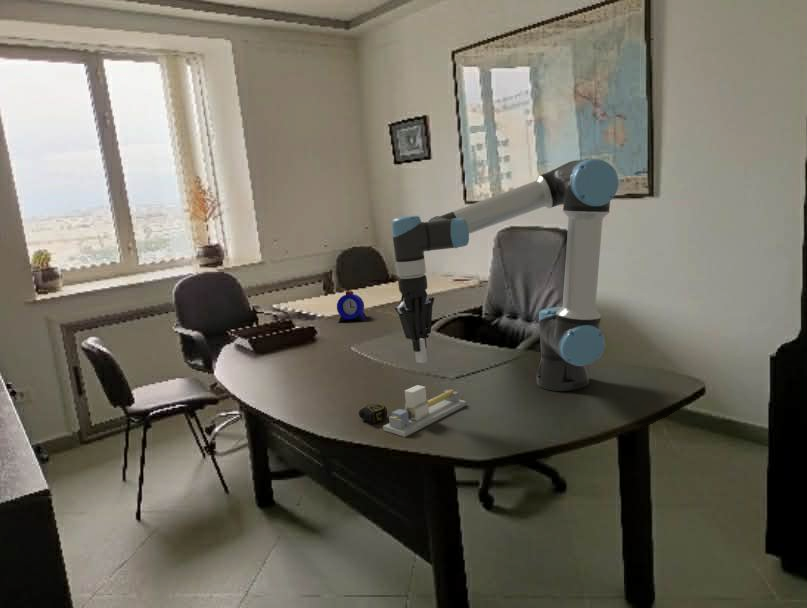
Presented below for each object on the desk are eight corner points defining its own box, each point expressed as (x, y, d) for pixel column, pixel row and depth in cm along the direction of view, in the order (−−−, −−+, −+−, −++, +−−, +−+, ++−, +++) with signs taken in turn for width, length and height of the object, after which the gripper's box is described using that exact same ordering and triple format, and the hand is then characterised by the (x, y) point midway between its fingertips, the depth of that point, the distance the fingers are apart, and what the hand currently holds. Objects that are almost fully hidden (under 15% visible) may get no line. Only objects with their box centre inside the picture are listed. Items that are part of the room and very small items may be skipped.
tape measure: (358, 420, 171) (357, 407, 170) (379, 413, 175) (377, 400, 174) (371, 427, 165) (369, 414, 165) (392, 419, 169) (390, 406, 168)
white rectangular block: (419, 411, 168) (416, 384, 167) (429, 414, 165) (426, 387, 164) (406, 417, 165) (403, 390, 163) (416, 420, 162) (413, 392, 160)
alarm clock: (337, 323, 296) (333, 293, 293) (344, 317, 307) (340, 288, 305) (362, 321, 293) (358, 291, 290) (367, 316, 305) (364, 286, 302)
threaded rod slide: (445, 400, 179) (443, 383, 178) (466, 405, 173) (464, 388, 172) (383, 430, 162) (381, 412, 161) (404, 436, 156) (402, 418, 155)
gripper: (418, 270, 167) (427, 353, 172) (384, 280, 158) (394, 367, 163) (439, 271, 162) (447, 356, 166) (404, 281, 153) (415, 371, 157)
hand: (421, 361), depth 164 cm, fingers closed
